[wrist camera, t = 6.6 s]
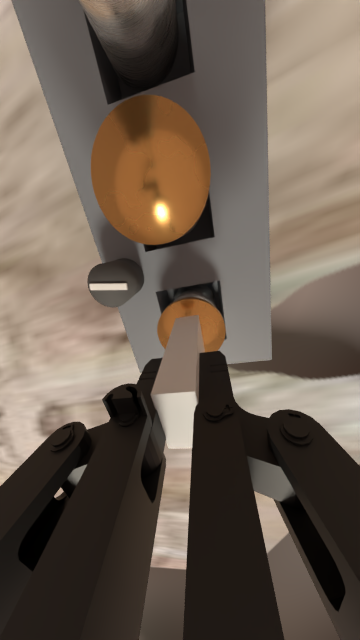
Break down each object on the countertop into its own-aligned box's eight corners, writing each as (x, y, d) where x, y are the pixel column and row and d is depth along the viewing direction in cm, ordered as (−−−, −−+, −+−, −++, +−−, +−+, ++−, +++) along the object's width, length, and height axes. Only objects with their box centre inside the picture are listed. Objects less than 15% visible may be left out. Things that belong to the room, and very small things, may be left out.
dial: (112, 294, 15) (91, 308, 12) (105, 258, 14) (81, 264, 11) (146, 294, 15) (132, 308, 12) (142, 257, 14) (126, 262, 11)
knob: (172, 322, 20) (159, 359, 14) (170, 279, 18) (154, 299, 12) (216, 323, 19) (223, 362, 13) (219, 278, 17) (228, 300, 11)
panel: (253, 328, 21) (271, 359, 16) (154, 341, 24) (140, 372, 18) (232, -38, 12) (260, -279, 6) (67, 39, 14) (-20, -91, 8)
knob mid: (144, 242, 14) (103, 246, 8) (137, 168, 12) (77, 102, 6) (205, 241, 14) (208, 243, 8) (207, 163, 12) (213, 86, 6)
